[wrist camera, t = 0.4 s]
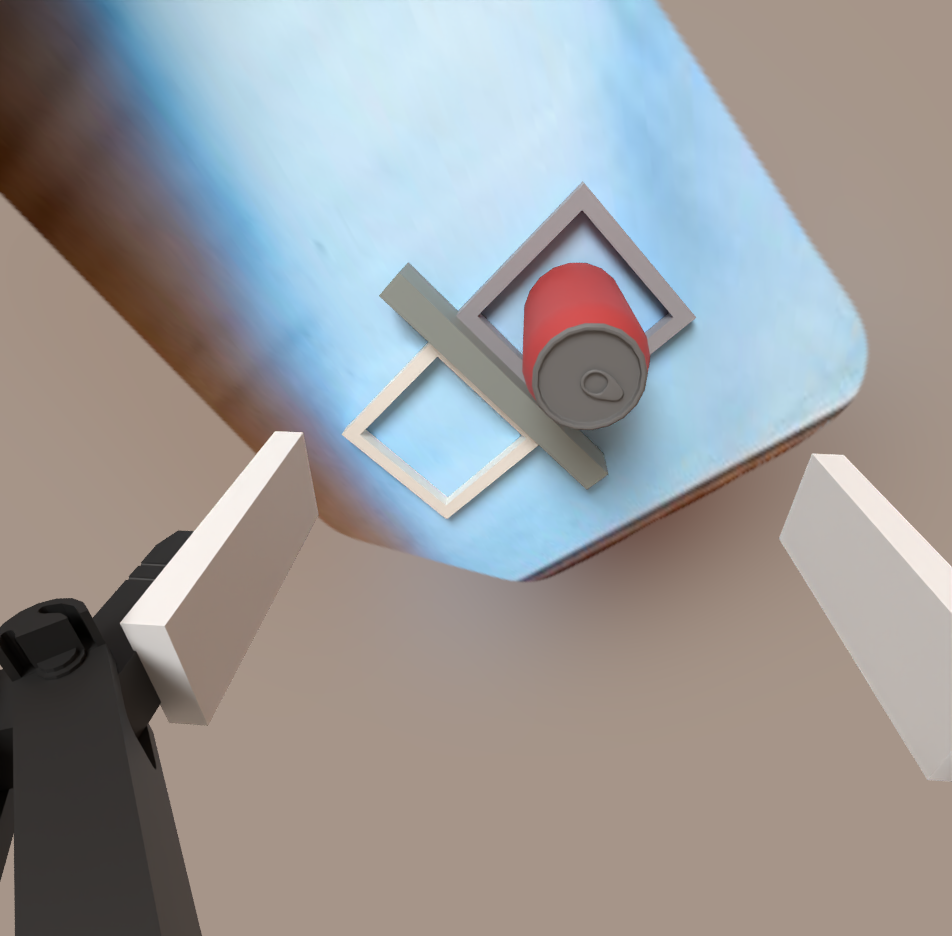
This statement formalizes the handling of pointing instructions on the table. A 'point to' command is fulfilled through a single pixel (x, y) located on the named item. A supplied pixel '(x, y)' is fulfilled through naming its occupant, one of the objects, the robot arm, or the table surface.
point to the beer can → (583, 348)
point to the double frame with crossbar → (501, 360)
